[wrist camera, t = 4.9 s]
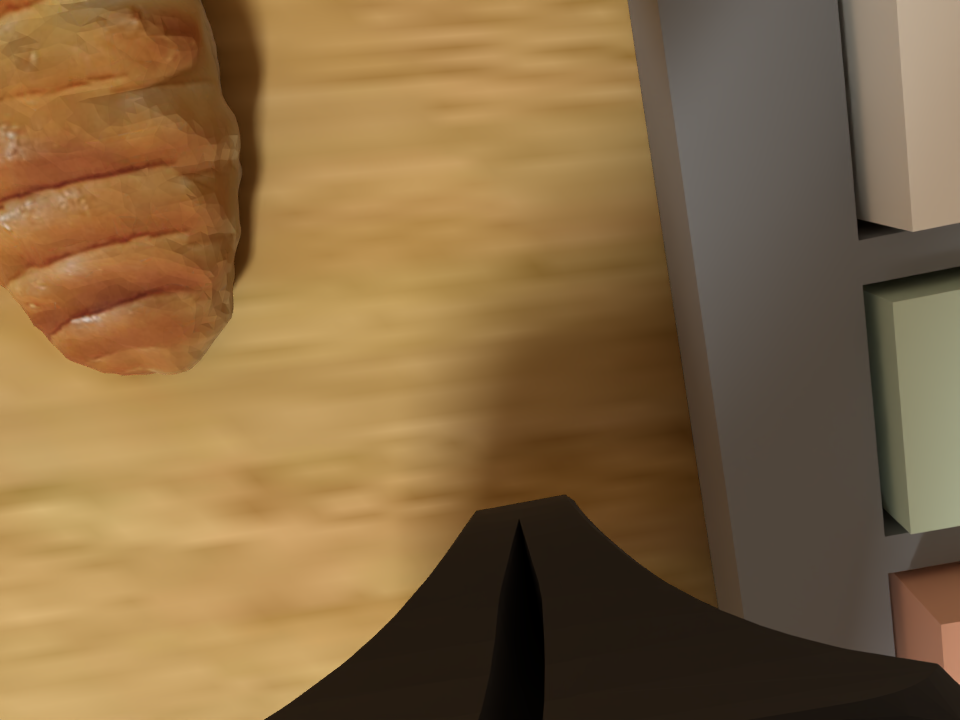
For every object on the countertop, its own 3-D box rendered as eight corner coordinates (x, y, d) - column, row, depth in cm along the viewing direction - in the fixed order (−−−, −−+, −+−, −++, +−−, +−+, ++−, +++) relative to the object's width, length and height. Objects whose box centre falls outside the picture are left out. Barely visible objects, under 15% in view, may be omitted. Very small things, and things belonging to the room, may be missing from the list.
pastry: (313, 331, 20) (272, 376, 17) (52, 386, 21) (-43, 440, 17) (198, -86, 18) (120, -141, 14) (-93, -12, 18) (-241, -47, 15)
